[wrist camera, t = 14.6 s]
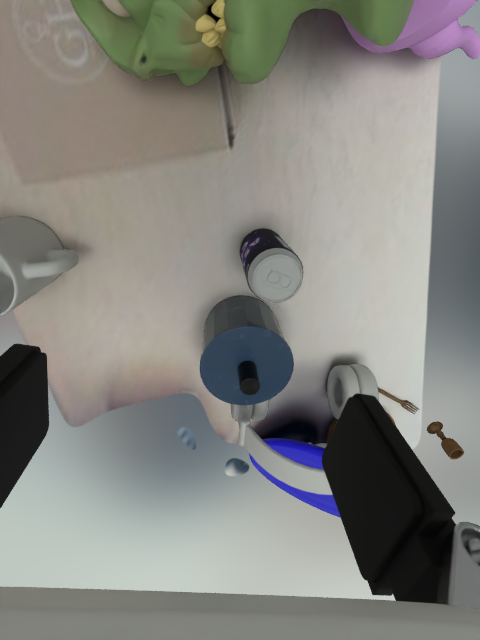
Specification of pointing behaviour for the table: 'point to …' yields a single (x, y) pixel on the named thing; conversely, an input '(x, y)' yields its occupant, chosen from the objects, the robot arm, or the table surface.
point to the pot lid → (246, 365)
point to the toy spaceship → (305, 456)
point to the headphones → (339, 389)
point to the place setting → (447, 443)
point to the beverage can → (270, 266)
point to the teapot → (431, 30)
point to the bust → (220, 32)
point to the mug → (29, 260)
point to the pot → (239, 316)
